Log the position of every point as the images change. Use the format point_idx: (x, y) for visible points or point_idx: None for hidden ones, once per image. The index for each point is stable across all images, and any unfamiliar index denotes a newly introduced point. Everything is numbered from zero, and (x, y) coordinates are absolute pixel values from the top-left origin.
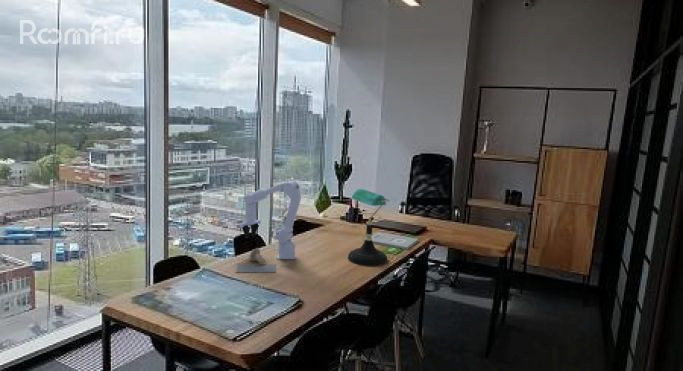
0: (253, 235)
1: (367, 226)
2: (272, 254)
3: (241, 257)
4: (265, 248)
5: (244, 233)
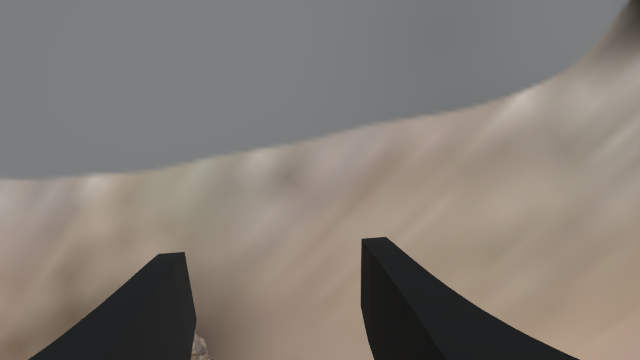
0: (367, 313)
1: None
2: None
3: (91, 225)
4: (543, 135)
5: (88, 329)
